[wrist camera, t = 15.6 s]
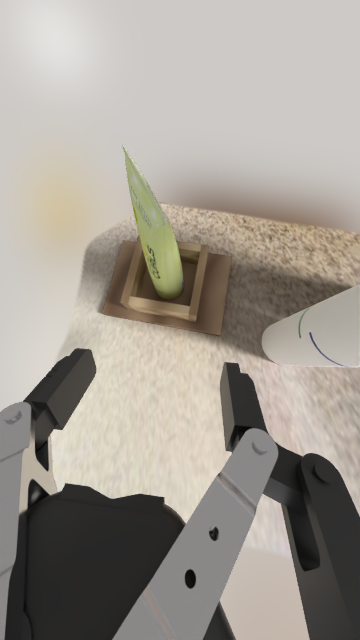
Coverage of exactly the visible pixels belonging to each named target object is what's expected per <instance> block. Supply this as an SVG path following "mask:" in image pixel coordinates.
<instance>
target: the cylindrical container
mask: <svg viewBox="0 0 360 640" xmlns="http://www.w3.org/2000/svg"><path fill="white" fill-rule="evenodd" d="M261 342H262V348H263V351H264V353H265V354H266V356H267V357H268V358H269V359H270V360H271V361H273V362H274V363H276V364H279V365H284V366H320V367H360V284H358V285H356V286H354V287H352V288H350V289H347V290H345V291H343V292H341V293H339V294H337V295H334V296H332V297H330V298H328V299H326V300H324V301H321V302H319V303H317V304H315V305H313V306H310V307H308V308H306V309H304V310H302V311H300V312H297V313H295V314H293V315H291V316H289V317H287V318H284V319H282V320H280V321H278V322H276V323H274V324H271V325H270V326H268V327H267V328H266V329H265V331H264V333H263V335H262V341H261Z"/></svg>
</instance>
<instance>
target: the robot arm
mask: <svg viewBox="0 0 360 640" xmlns="http://www.w3.org/2000/svg"><path fill="white" fill-rule="evenodd" d="M95 374H96V365H95V361H94V358H93V355H92V352H91V350H90V349H80V348H76V349H75V350H74V351H73V352H72V353H71V354H70V356H66V357H64V358H63V359H61V360H60V361H58V362H57V363H56V364H55V366H54V367H53V368H52V369H51V371H49V373H48V374H47V375H46V377H44V378H43V379H42V381H41V382H40V383H39V384H38V385H37V386H36V387H35V388H34V390H33V391H32V392H31V393H30V394H29V395H28V396H27V397H26V399H25V400H24V401H23V402H19V403H15V404H13V405H10V406H8V407H7V408H5V409H4V410H2V411H1V412H0V640H236V639H235V636H234V634H233V632H232V629H231V627H230V625H229V622H228V620H227V618H226V615H225V613H224V610H223V608H222V606H221V603H220V601H219V600H220V597H221V595H222V593H223V590H224V588H225V586H226V583H227V581H228V578H229V576H230V574H231V571H232V569H233V567H234V564H235V561H236V560H237V557H238V555H239V552H240V550H241V548H242V545H243V543H244V541H245V538H246V536H247V534H248V531H249V529H250V526H251V524H252V522H253V519H254V516H255V513H256V508H257V505H258V502H259V500H260V498H261V495H262V493H263V494H264V495H266V496H268V497H270V498H272V499H274V500H275V501H277V502H279V503H281V506H282V511H283V515H284V520H285V525H286V530H287V534H288V539H289V544H290V548H291V553H292V558H293V563H294V567H295V572H296V577H297V582H298V586H299V591H300V596H301V600H302V605H303V610H304V614H305V619H306V624H307V628H308V633H309V638H310V640H360V516H359V514H358V512H357V510H356V508H355V505H354V503H353V501H352V499H351V496H350V494H349V492H348V490H347V488H346V485H345V483H344V481H343V479H342V477H341V475H340V473H339V472H338V470H337V469H336V468H335V466H334V465H333V464H332V463H331V462H329V461H328V460H327V459H325V458H324V457H322V456H320V455H318V454H314V453H309V454H306V455H304V456H300V455H298V454H296V453H294V452H291V451H289V450H287V449H285V448H283V447H281V446H280V445H278V444H277V443H276V442H275V441H274V440H273V438H272V437H271V436H270V435H269V433H268V431H267V429H266V426H265V422H264V419H263V415H262V412H261V408H260V404H259V401H258V397H257V394H256V390H255V386H254V383H253V381H252V379H251V378H250V377H249V375H248V374H245V373H240V368H239V364H238V363H228V362H225V363H224V366H223V371H222V376H221V380H220V394H221V405H222V416H223V427H224V437H225V448H226V451H231V452H232V455H231V456H230V458H229V459H228V461H227V463H226V464H225V466H224V467H223V469H222V471H221V472H220V473H219V474H218V475H217V476H216V478H215V479H214V481H213V482H212V484H211V485H210V487H209V489H208V490H207V492H206V493H205V495H204V497H203V498H202V500H201V501H200V503H199V505H198V506H197V508H196V509H195V511H194V513H193V514H192V516H191V517H190V519H189V521H188V522H187V524H185V522H184V521H183V519H182V518H181V517H180V516H179V515H178V514H177V512H176V511H174V510H173V509H172V508H171V507H169V506H167V505H166V504H165V502H164V497H158V496H151V495H144V494H136V495H131V496H126V497H121V498H116V499H110V498H108V497H106V496H104V495H103V494H101V493H99V492H98V491H96V490H94V489H92V488H91V487H88V486H81V485H74V484H67V483H66V484H65V486H64V488H63V490H62V491H60V492H57V486H56V482H55V480H54V476H53V466H52V445H51V436H50V434H51V433H52V431H53V429H58V430H63V428H64V427H65V425H66V423H67V422H68V420H69V418H70V417H71V415H72V413H73V412H74V410H75V408H76V407H77V405H78V403H79V402H80V400H81V398H82V397H83V395H84V393H85V392H86V390H87V388H88V387H89V385H90V383H91V382H92V380H93V378H94V377H95Z"/></svg>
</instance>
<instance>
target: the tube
mask: <svg viewBox="0 0 360 640" xmlns="http://www.w3.org/2000/svg"><path fill="white" fill-rule="evenodd" d="M123 149H124V152H125V161H126V170H127V177H128V183H129V190H130V195H131V200H132V205H133V209H134V214H135V218H136V223H137V228H138V232H139V236H140V240H141V244H142V248H143V252H144V256H145V260H146V263H147V267H148V270H149V273H150V276H151V279H152V282H153V284H154V287H155V289H156V292H157V293H158V295H159V296H160V297H162V298H164V299H175V298H177V297H178V296H179V295H181V293H182V292H183V289H184V280H183V272H182V265H181V259H180V254H179V250H178V245H177V242H176V238H175V235H174V232H173V229H172V227H171V225H170V222H169V221H168V219H167V217H166V215H165V214H164V212H163V210H162V208H161V206H160V205H159V203H158V201H157V199H156V197H155V195H154V194H153V192H152V190H151V188H150V186H149V185H148V183H147V181H146V180H145V178H144V176H143V175H142V173H141V172H140V170H139V168H138V167H137V165H136V164H135V162H134V161H133V160H132V158H131V157H130V155H129V154H128V152H127V150H126V148H125V146H124V145H123Z"/></svg>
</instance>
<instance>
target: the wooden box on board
mask: <svg viewBox="0 0 360 640" xmlns="http://www.w3.org/2000/svg"><path fill="white" fill-rule="evenodd" d="M176 242H177V245H178V250H179V254H180V259H181V265H182V272H183V280H184V289H183V292H182V293H181V295H179V296H178V297H177V298H175V299H164V298H162V297H160V296H159V295H158V293H157V292H156V289H155V287H154V284H153V282H152V279H151V276H150V273H149V270H148V267H147V263H146V260H145V256H144V252H143V248H142V244H141V240H140V236H138V239H137V242H130V241H124V240H123V242H122V245H121V249H120V252H119V256H118V259H117V263H116V266H115V270H114V273H113V277H112V280H111V284H110V287H109V290H108V294H107V297H106V301H105V304H104V308H103V311H102V313H103V314H105V315H108V316H114V317H119V318H125V319H130V320H136V321H141V322H147V323H152V324H158V325H163V326H169V327H174V328H180V329H185V330H191V331H197V332H202V333H208V334H213V335H221V329H222V322H223V316H224V309H225V302H226V295H227V288H228V281H229V274H230V267H231V260H232V256H225V255H218V254H211V253H208V250H209V246H207V245H200V244H193V243H186V242H180V241H176Z"/></svg>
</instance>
